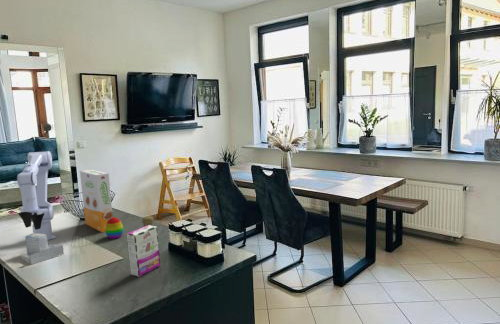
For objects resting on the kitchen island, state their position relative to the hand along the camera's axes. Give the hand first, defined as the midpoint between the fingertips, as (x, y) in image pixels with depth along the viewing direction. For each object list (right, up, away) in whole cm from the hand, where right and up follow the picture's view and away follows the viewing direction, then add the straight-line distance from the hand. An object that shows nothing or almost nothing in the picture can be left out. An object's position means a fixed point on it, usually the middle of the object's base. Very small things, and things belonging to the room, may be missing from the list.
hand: (33, 228), depth 167 cm
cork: (+50, -7, +10) cm, 51 cm away
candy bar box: (+58, -12, -25) cm, 65 cm away
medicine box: (+4, -11, -4) cm, 12 cm away
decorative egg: (+32, -7, +15) cm, 36 cm away
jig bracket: (+8, -11, -7) cm, 15 cm away
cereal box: (+17, -5, +33) cm, 37 cm away
